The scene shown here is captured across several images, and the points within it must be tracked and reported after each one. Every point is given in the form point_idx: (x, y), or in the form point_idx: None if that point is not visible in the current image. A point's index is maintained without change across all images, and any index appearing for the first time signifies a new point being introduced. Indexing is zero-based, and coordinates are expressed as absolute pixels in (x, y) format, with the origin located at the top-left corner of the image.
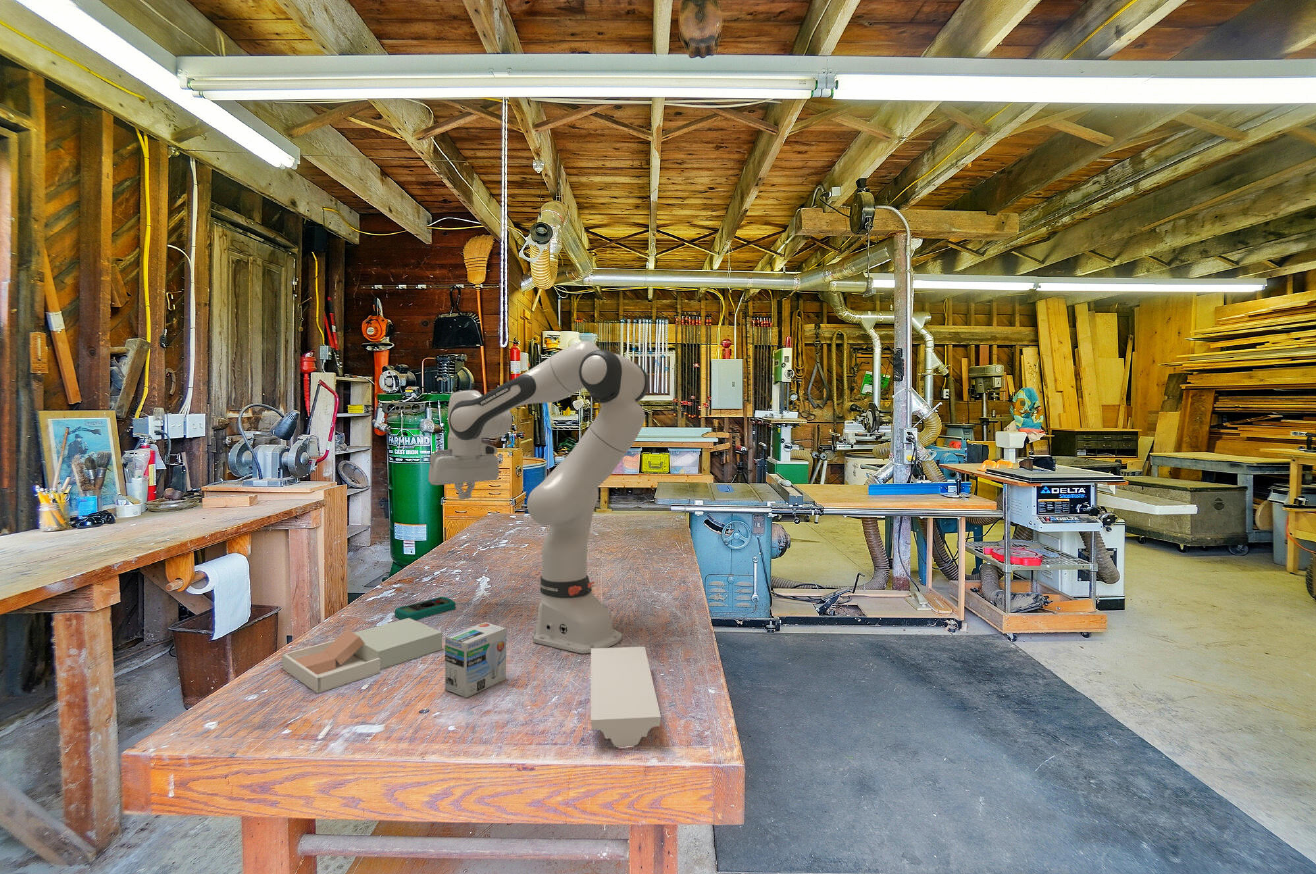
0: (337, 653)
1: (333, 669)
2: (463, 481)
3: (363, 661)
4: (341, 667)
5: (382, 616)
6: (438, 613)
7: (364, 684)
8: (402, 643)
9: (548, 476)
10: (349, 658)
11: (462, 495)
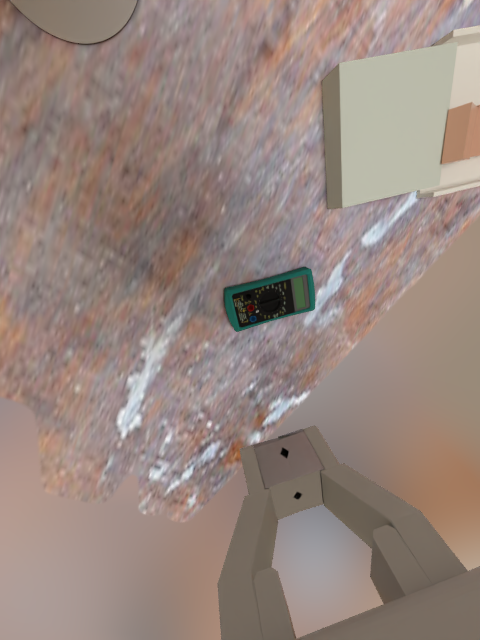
0: (476, 114)
1: None
2: (458, 608)
3: None
4: None
5: (321, 315)
6: (255, 281)
7: (466, 9)
8: (414, 53)
9: None
10: None
11: (325, 445)
